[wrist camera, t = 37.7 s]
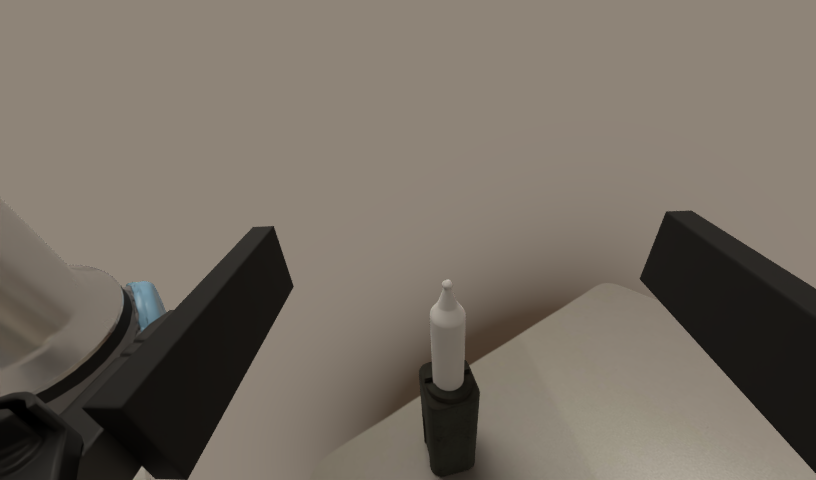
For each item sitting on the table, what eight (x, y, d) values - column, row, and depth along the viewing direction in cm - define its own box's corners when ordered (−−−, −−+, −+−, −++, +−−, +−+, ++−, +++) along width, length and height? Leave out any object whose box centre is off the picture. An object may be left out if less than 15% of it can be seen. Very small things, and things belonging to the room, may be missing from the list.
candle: (422, 432, 39) (408, 267, 26) (462, 422, 40) (467, 256, 27) (433, 479, 35) (422, 310, 22) (477, 467, 35) (493, 296, 22)
